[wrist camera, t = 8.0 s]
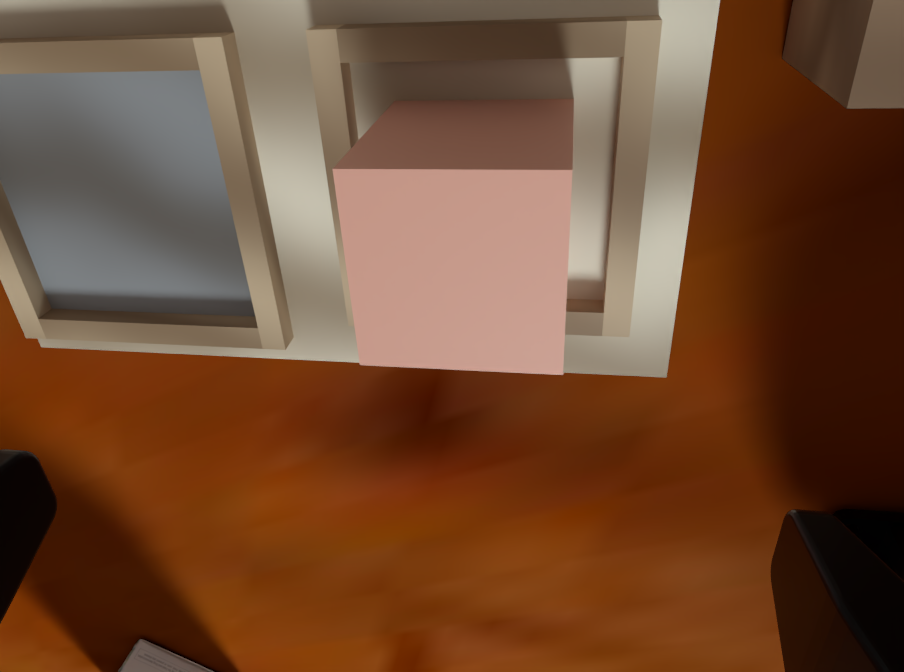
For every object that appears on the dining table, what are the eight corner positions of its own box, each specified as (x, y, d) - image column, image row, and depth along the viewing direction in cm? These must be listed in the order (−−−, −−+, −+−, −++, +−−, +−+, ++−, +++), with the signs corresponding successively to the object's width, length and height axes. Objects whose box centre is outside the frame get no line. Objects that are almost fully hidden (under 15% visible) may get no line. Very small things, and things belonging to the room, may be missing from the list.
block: (566, 264, 18) (563, 375, 14) (408, 260, 19) (359, 364, 14) (573, 98, 16) (572, 169, 12) (394, 100, 16) (332, 169, 12)
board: (662, 357, 20) (698, 551, 14) (60, 330, 23) (-121, 482, 17) (764, -384, 12) (948, -667, 6) (-185, -279, 15) (-692, -397, 9)
